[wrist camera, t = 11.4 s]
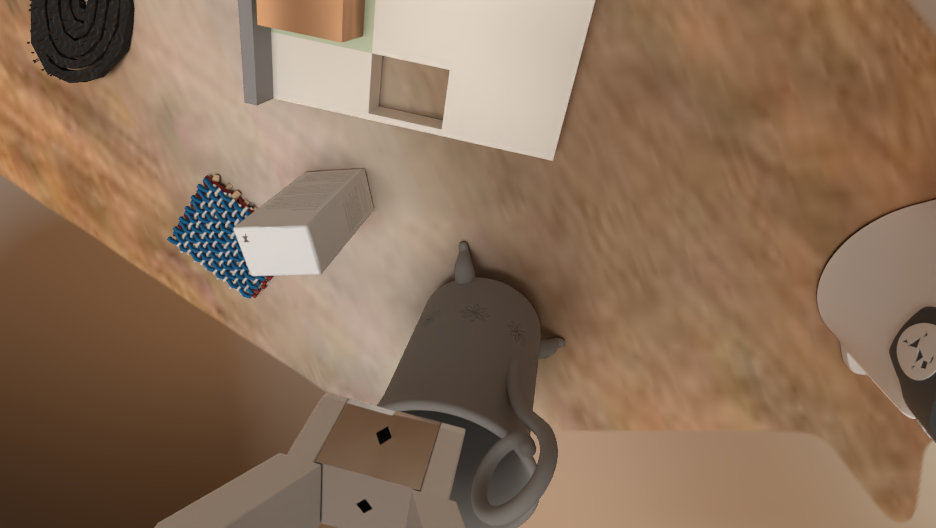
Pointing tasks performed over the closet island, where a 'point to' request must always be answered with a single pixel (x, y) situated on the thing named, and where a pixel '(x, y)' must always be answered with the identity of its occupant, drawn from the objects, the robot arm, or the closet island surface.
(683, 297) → the closet island surface
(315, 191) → the skincare box
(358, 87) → the trap deck
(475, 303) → the mug
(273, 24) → the block
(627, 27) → the closet island surface
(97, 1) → the hairbrush
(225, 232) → the woven mat
